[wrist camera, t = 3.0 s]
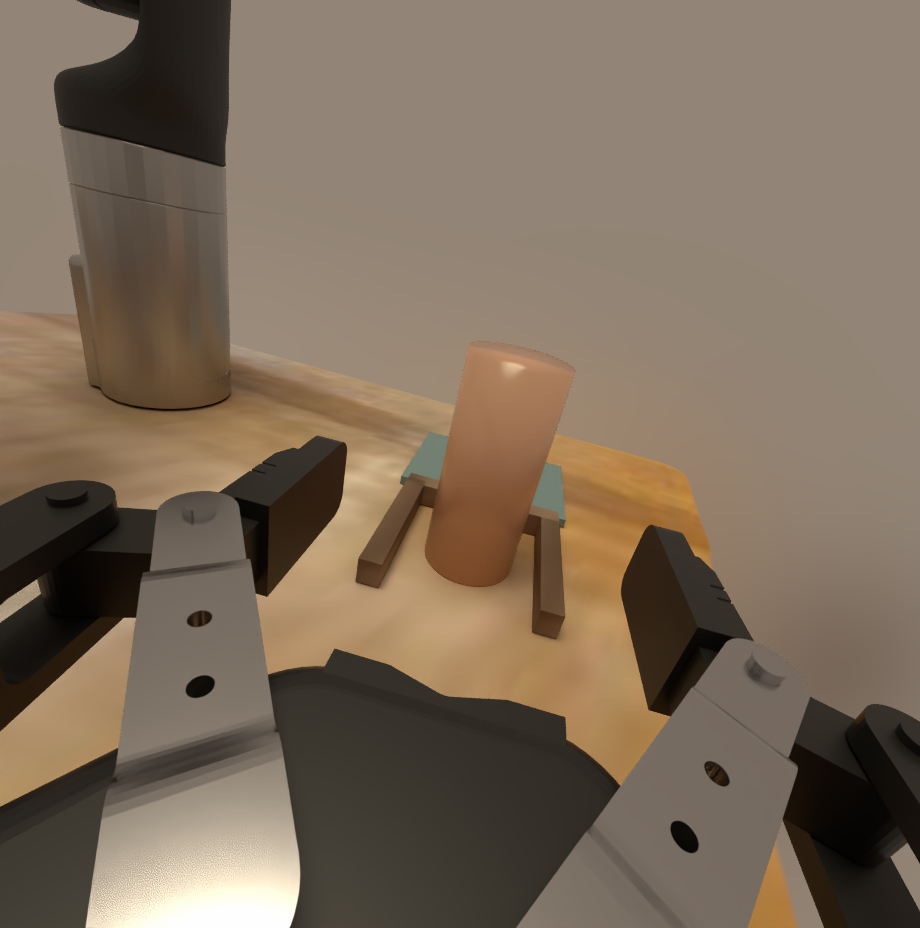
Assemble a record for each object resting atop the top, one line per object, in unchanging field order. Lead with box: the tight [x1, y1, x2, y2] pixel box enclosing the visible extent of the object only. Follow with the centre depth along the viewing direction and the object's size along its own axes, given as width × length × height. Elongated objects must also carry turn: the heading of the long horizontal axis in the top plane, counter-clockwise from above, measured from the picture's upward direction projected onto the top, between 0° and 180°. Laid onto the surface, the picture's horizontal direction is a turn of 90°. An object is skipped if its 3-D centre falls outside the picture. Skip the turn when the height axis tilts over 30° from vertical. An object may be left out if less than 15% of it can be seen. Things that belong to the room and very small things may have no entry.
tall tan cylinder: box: [425, 341, 576, 587], centre depth 24 cm, size 5×5×12 cm
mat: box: [400, 432, 566, 527], centre depth 36 cm, size 12×9×1 cm
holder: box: [356, 473, 565, 639], centre depth 26 cm, size 10×10×2 cm
